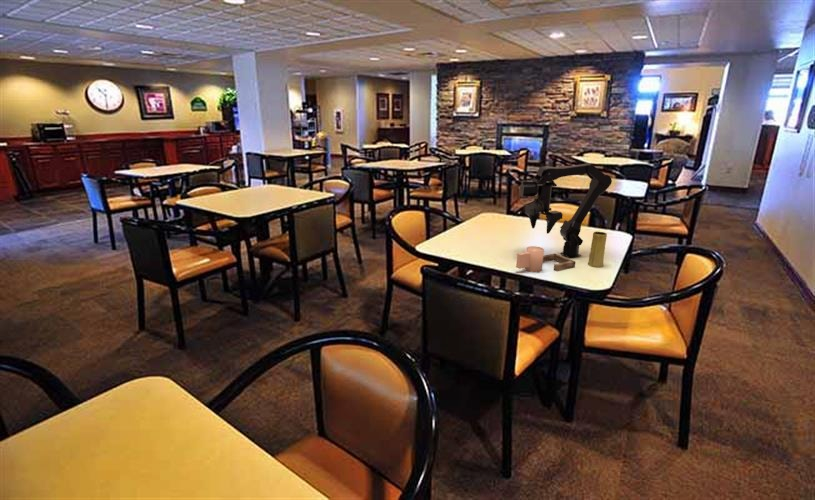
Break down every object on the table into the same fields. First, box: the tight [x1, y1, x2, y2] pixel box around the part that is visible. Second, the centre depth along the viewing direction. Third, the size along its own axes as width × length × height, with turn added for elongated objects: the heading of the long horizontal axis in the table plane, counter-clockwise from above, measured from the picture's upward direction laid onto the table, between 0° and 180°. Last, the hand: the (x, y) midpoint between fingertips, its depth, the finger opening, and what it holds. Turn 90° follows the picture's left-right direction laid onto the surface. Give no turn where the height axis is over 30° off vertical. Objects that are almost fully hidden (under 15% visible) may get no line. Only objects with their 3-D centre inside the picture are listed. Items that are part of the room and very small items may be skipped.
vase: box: [587, 231, 608, 268], centre depth 184 cm, size 6×6×14 cm
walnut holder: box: [543, 253, 576, 272], centre depth 186 cm, size 10×12×2 cm
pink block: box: [515, 245, 545, 273], centre depth 179 cm, size 12×7×9 cm, turn 116°
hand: (540, 230), depth 193 cm, fingers open, 9 cm apart
